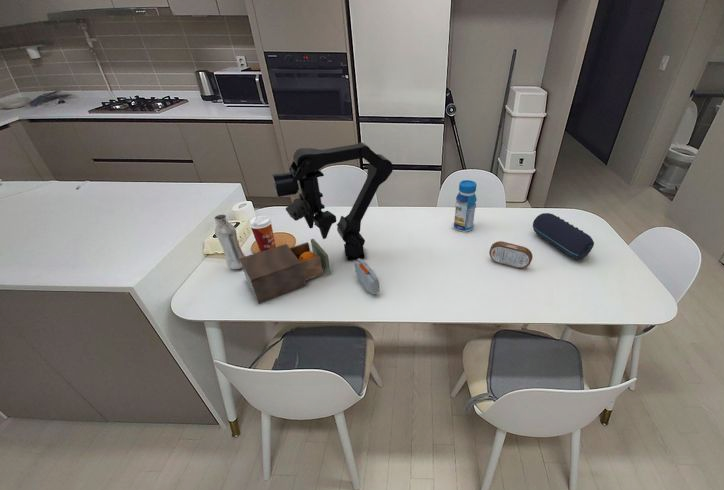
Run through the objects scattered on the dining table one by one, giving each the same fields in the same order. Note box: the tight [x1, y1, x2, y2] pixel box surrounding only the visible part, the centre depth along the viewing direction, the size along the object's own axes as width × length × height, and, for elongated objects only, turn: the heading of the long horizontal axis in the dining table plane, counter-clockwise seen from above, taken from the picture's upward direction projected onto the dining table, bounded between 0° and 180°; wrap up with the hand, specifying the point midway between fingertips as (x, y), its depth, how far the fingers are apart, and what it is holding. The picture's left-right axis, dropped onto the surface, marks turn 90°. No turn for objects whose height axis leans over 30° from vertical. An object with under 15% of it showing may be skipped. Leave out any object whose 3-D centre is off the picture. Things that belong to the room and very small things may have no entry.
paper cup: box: [248, 215, 277, 252], centre depth 129 cm, size 8×8×14 cm
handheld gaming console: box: [353, 258, 381, 295], centre depth 115 cm, size 14×3×8 cm, turn 32°
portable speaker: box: [532, 212, 595, 261], centre depth 135 cm, size 25×10×10 cm, turn 26°
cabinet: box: [239, 243, 307, 304], centre depth 115 cm, size 16×14×10 cm
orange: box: [299, 251, 316, 262], centre depth 120 cm, size 6×6×7 cm
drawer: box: [289, 238, 332, 281], centre depth 120 cm, size 16×12×8 cm
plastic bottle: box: [214, 214, 246, 270], centre depth 120 cm, size 6×7×20 cm
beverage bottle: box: [453, 179, 478, 233], centre depth 143 cm, size 8×8×20 cm
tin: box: [489, 240, 534, 269], centre depth 125 cm, size 15×3×8 cm, turn 65°
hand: (317, 233), depth 120 cm, fingers open, 9 cm apart
